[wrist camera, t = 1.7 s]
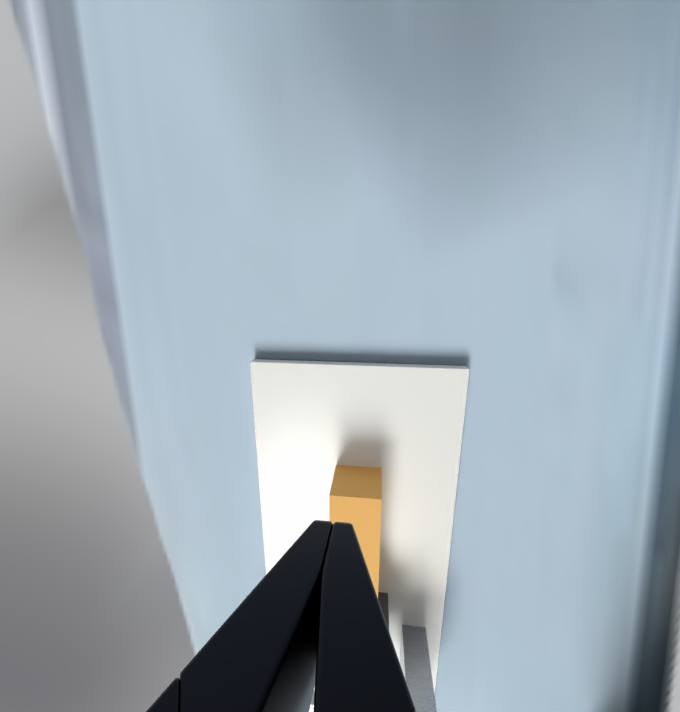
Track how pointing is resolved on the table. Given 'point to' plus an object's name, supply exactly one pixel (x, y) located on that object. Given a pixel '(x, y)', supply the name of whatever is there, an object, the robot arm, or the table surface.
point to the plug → (361, 515)
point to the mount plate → (366, 449)
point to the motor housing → (415, 668)
